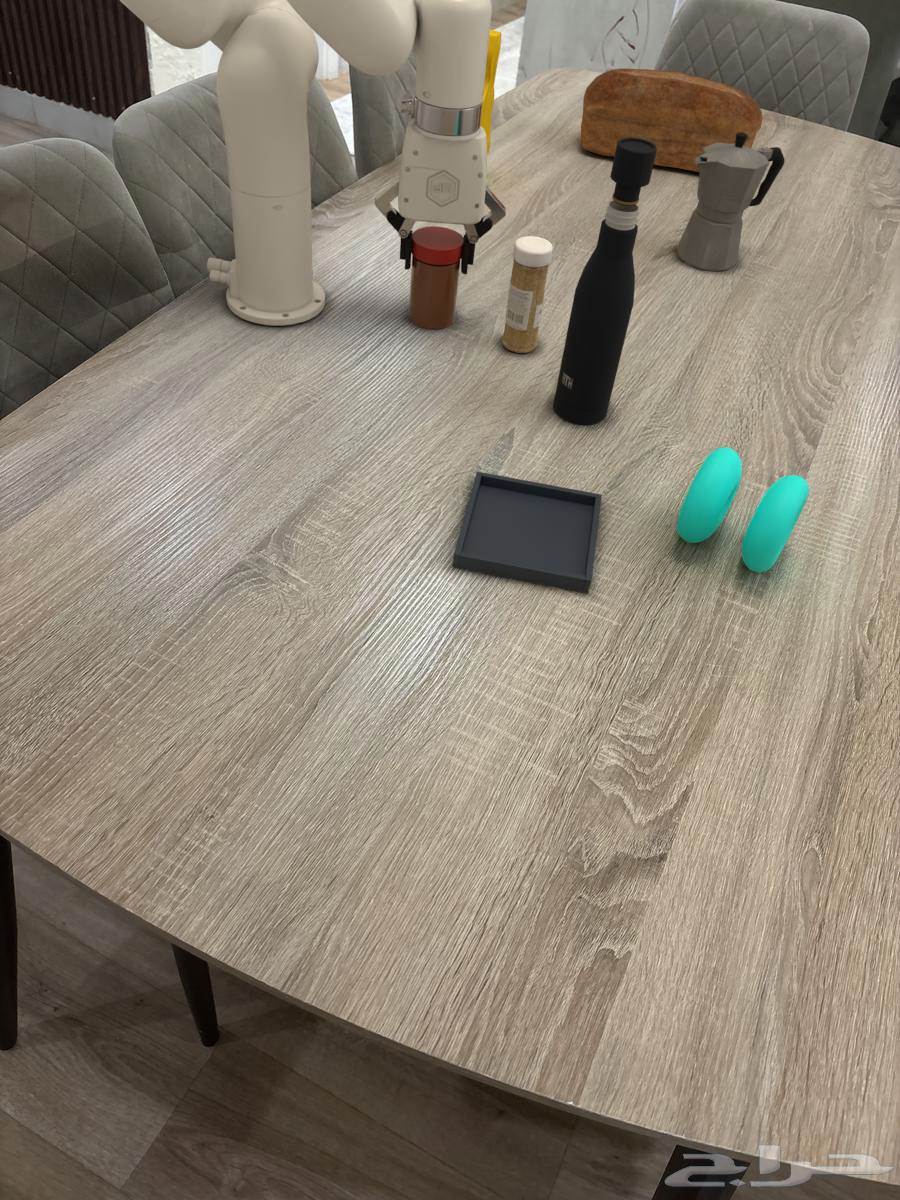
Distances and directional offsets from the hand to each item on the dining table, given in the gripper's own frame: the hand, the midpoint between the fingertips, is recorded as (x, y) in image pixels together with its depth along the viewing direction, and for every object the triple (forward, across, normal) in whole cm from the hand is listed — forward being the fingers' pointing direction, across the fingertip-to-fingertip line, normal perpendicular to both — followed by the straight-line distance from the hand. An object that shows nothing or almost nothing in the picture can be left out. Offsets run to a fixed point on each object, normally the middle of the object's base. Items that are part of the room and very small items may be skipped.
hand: (436, 265), depth 118 cm
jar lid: (-3, 0, 0) cm, 3 cm away
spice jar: (+7, +11, -5) cm, 14 cm away
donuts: (+7, +30, -42) cm, 52 cm away
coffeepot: (+7, +42, +24) cm, 49 cm away
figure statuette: (+7, +5, +46) cm, 47 cm away
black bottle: (+7, +18, -19) cm, 27 cm away
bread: (+7, +41, +62) cm, 75 cm away
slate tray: (+7, +10, -42) cm, 43 cm away
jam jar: (+7, 0, 0) cm, 7 cm away
